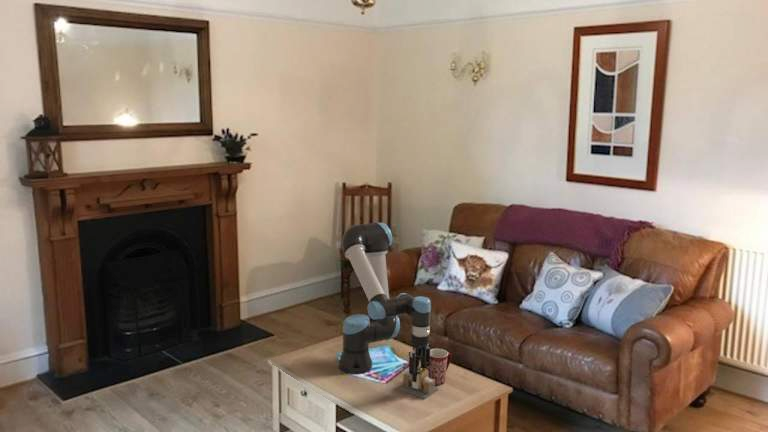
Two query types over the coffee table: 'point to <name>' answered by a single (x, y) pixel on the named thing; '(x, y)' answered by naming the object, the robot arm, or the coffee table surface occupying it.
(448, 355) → the mug
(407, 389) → the shaft bench
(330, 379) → the coffee table surface
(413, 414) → the coffee table surface
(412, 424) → the coffee table surface
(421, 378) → the coupler
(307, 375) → the coffee table surface
